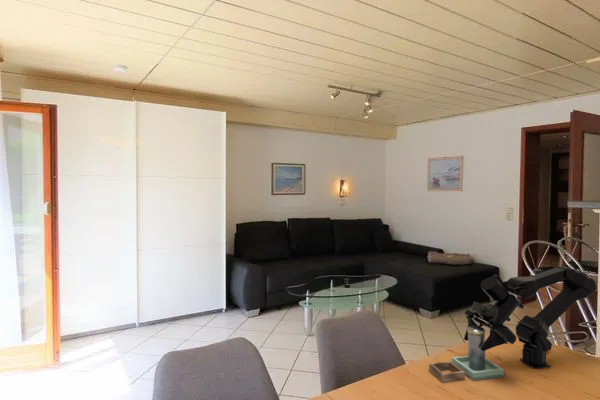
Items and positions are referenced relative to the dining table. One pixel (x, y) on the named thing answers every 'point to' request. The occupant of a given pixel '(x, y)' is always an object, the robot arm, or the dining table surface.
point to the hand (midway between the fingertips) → (473, 344)
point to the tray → (488, 373)
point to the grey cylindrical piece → (476, 348)
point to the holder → (446, 377)
